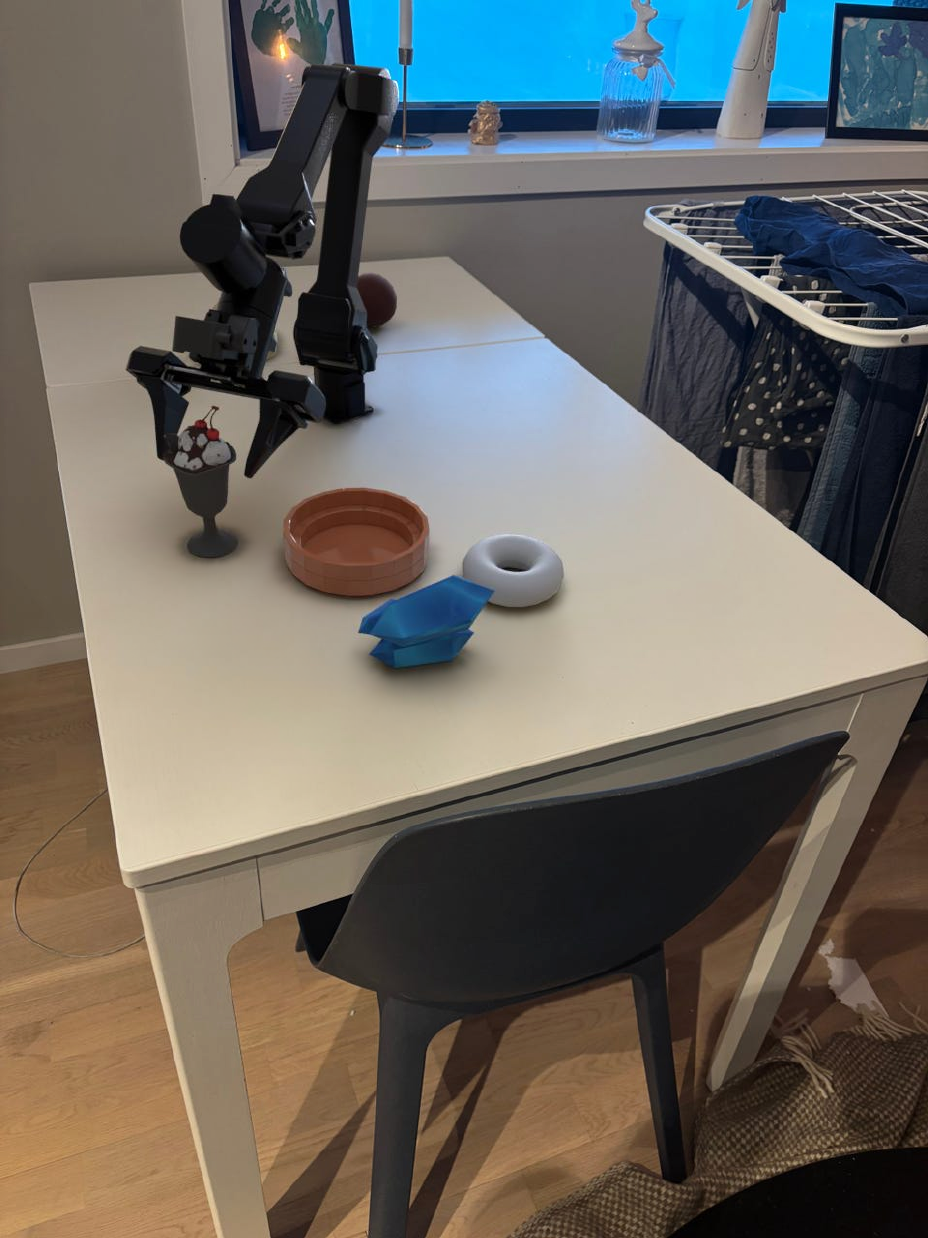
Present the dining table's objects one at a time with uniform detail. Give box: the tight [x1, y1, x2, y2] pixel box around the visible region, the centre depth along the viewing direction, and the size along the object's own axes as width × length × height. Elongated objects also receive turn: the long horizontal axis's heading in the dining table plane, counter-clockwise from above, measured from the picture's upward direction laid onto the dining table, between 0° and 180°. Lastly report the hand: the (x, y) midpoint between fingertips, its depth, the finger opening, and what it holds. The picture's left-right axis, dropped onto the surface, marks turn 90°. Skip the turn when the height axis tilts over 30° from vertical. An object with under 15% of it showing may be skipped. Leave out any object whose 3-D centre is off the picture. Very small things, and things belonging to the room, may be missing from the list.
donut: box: [461, 533, 565, 608], centre depth 91 cm, size 10×4×10 cm
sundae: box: [163, 405, 238, 559], centre depth 90 cm, size 7×7×15 cm
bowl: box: [282, 487, 431, 597], centre depth 93 cm, size 14×14×4 cm
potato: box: [357, 272, 398, 328], centre depth 142 cm, size 8×9×8 cm
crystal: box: [357, 574, 494, 669], centre depth 80 cm, size 7×9×12 cm
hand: (203, 468), depth 90 cm, fingers open, 9 cm apart
